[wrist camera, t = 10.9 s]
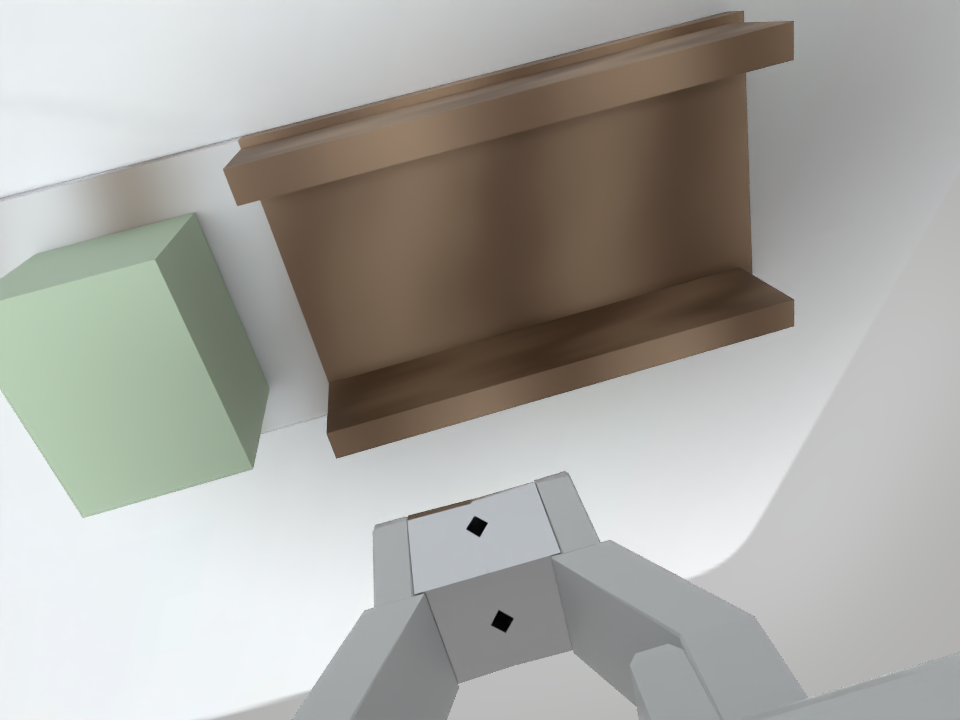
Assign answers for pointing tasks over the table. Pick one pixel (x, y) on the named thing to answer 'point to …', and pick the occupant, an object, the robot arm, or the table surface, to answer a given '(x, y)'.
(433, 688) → the robot arm
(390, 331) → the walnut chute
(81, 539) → the table surface
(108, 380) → the sage block
